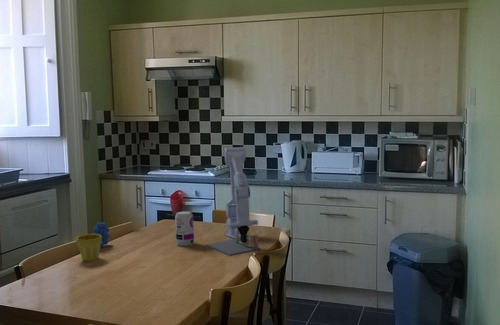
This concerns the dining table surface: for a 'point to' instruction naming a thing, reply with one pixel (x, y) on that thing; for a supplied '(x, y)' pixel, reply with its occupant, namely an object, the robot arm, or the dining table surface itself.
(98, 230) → the grapes
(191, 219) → the supplement can
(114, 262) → the dining table surface
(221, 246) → the gate frame
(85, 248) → the plant pot
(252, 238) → the gate
